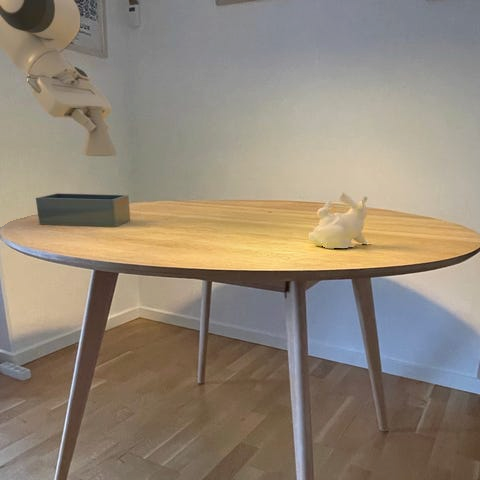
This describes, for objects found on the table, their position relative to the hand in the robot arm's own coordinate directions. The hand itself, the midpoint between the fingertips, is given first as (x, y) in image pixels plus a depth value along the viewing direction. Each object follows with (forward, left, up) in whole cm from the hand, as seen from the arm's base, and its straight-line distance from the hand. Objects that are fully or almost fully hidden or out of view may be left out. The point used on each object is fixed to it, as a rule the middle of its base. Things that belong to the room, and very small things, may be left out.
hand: (100, 129), depth 101 cm
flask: (-1, 0, -6) cm, 6 cm away
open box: (-4, -4, -19) cm, 20 cm away
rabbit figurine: (+51, -20, -19) cm, 59 cm away
